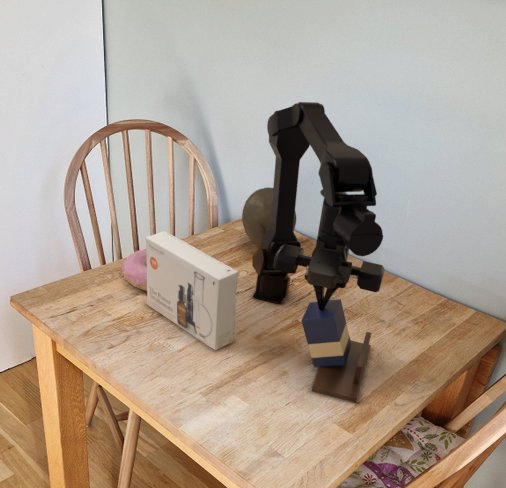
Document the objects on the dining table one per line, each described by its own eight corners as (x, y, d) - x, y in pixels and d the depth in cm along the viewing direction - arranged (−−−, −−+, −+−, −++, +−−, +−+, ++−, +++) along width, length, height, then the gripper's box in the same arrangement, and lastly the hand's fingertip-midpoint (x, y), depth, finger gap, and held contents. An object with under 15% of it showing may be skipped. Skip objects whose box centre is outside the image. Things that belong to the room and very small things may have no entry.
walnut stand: (311, 391, 109) (315, 368, 106) (330, 339, 124) (334, 318, 121) (355, 403, 107) (361, 380, 105) (369, 349, 122) (374, 328, 119)
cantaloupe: (304, 249, 158) (312, 194, 150) (264, 263, 150) (271, 205, 142) (266, 230, 167) (272, 176, 159) (227, 242, 158) (231, 185, 150)
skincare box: (144, 306, 127) (144, 235, 119) (164, 298, 131) (166, 229, 123) (213, 352, 116) (219, 278, 107) (234, 342, 119) (241, 269, 111)
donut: (110, 288, 132) (110, 267, 130) (137, 259, 145) (137, 239, 142) (179, 302, 130) (180, 281, 127) (200, 271, 143) (201, 252, 140)
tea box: (301, 320, 110) (333, 317, 108) (309, 302, 116) (340, 298, 113) (313, 367, 114) (345, 364, 112) (321, 347, 120) (351, 345, 118)
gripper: (269, 235, 99) (259, 318, 107) (385, 260, 95) (365, 344, 103) (286, 212, 108) (276, 290, 116) (393, 234, 104) (374, 313, 112)
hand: (321, 309), depth 112 cm, fingers closed
